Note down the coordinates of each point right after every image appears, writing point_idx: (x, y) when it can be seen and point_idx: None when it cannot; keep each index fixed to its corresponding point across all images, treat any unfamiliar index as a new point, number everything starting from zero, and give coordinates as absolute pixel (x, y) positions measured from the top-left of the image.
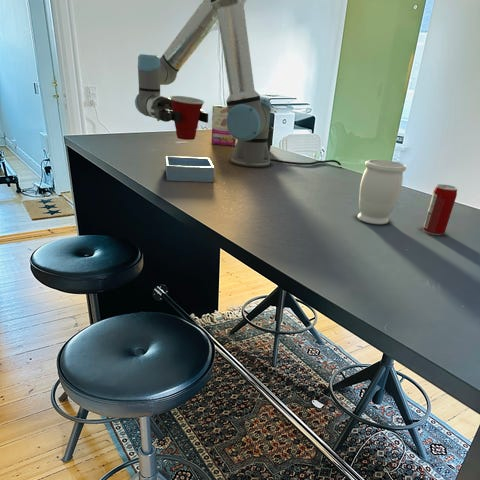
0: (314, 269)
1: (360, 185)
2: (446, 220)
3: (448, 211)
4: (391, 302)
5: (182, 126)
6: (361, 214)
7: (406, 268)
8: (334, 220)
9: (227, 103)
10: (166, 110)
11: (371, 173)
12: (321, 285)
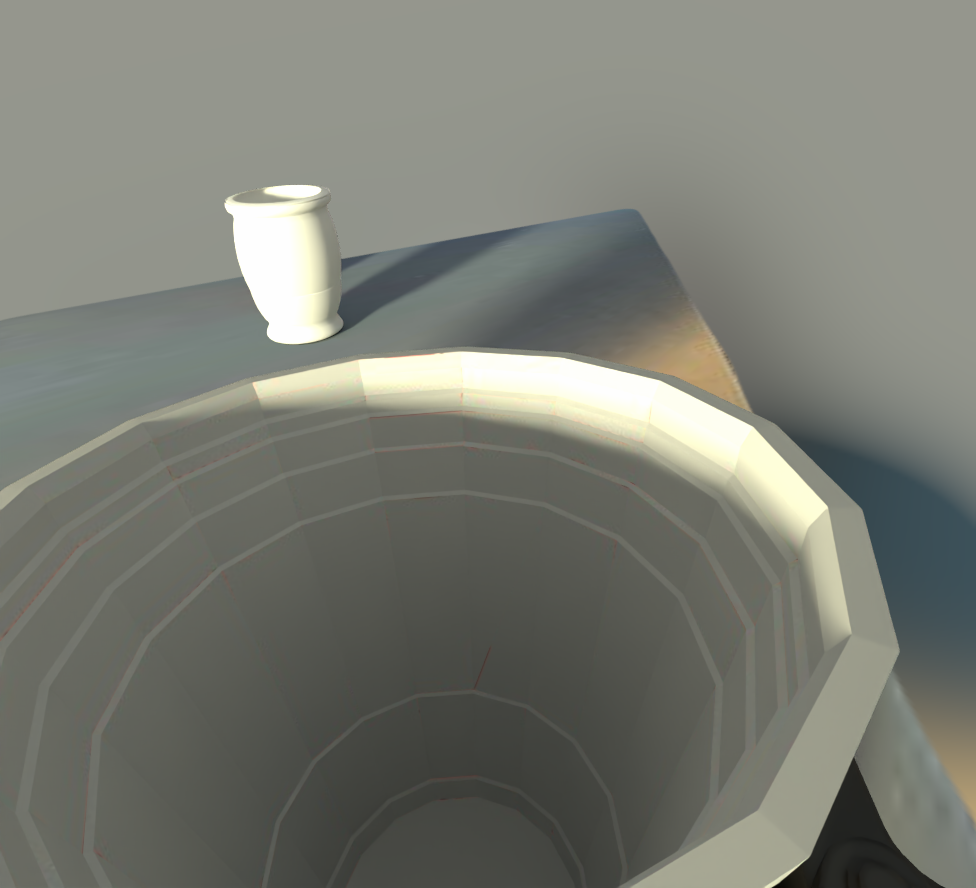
0: (625, 274)
1: (317, 262)
2: None
3: None
4: (593, 239)
5: (580, 714)
6: (329, 322)
7: (489, 259)
8: (391, 344)
9: None
10: (898, 877)
11: (327, 215)
12: (648, 259)
